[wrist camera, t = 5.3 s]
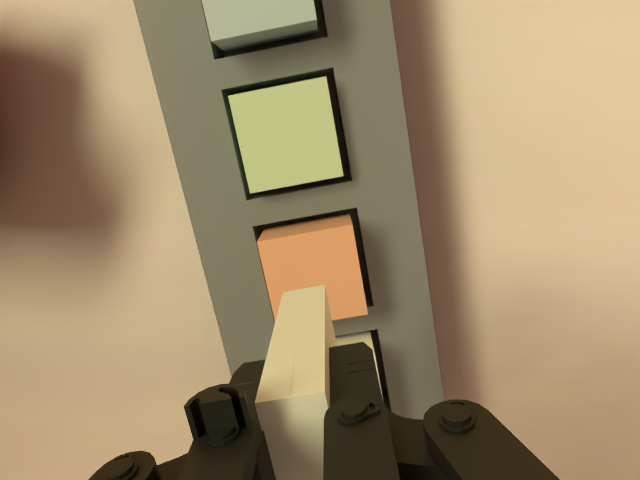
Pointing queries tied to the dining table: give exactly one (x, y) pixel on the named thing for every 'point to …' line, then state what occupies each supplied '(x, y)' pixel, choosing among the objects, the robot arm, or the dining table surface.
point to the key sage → (286, 134)
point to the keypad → (309, 198)
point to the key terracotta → (314, 263)
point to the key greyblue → (257, 21)
